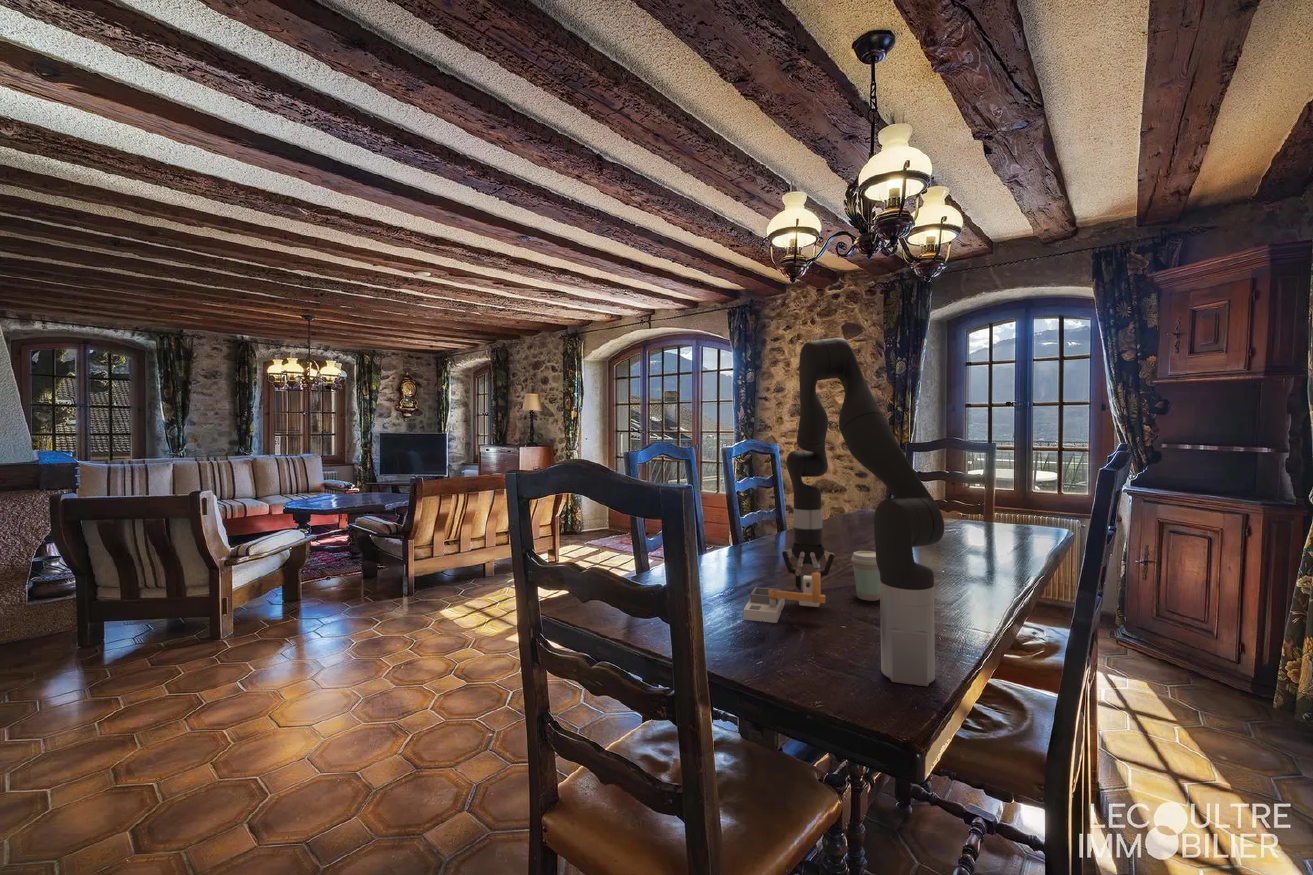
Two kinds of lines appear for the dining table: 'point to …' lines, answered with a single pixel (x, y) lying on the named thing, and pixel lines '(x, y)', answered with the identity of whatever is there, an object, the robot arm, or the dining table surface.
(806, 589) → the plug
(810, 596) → the crank handle
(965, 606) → the dining table surface
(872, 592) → the coffee cup
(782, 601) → the white stepped base
